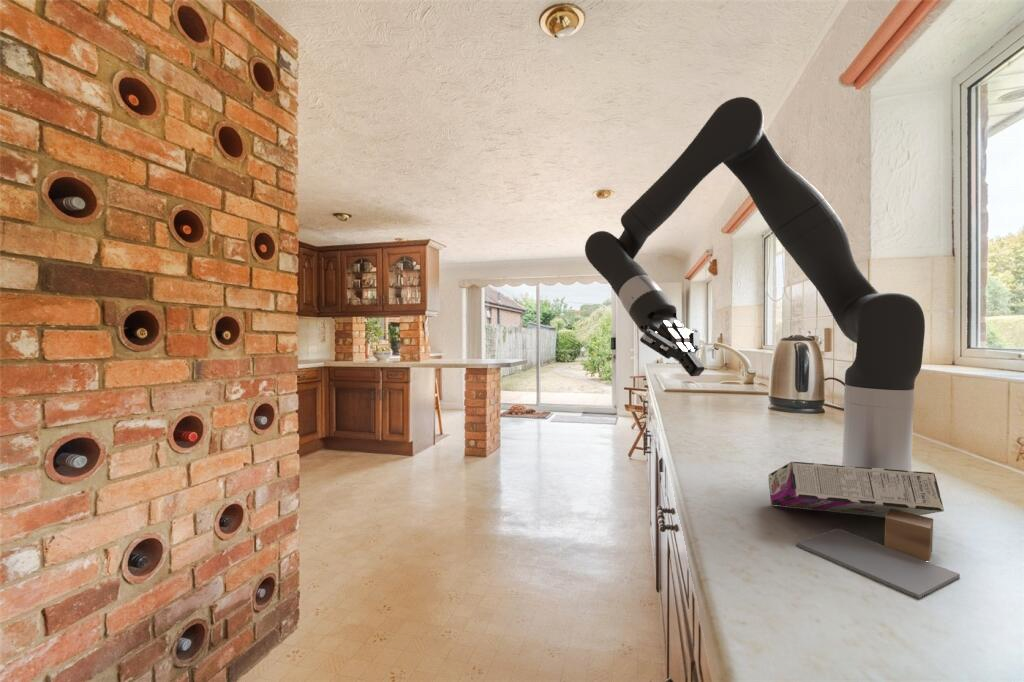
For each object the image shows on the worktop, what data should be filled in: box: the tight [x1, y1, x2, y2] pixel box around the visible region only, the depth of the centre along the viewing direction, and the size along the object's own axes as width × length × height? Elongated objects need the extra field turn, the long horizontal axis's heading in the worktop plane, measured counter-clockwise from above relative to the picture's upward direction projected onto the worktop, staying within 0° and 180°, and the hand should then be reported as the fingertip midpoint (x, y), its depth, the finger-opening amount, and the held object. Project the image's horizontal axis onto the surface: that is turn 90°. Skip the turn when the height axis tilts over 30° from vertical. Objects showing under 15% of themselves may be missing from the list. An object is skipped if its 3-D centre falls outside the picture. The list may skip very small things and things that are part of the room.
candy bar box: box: [767, 461, 945, 518], centre depth 62 cm, size 11×5×16 cm
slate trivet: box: [795, 528, 960, 599], centre depth 52 cm, size 9×12×1 cm
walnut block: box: [883, 509, 934, 562], centre depth 54 cm, size 4×4×4 cm
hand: (698, 373), depth 74 cm, fingers closed
